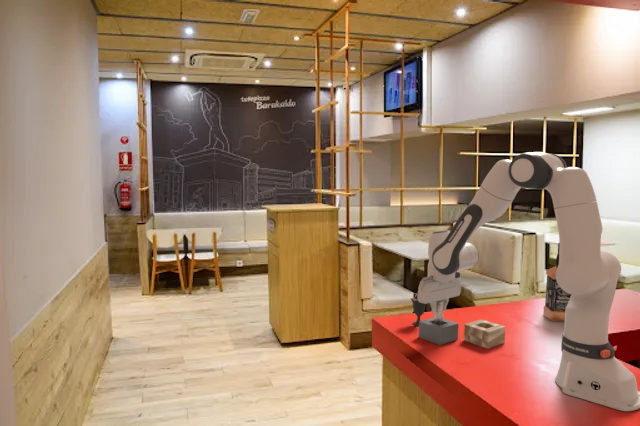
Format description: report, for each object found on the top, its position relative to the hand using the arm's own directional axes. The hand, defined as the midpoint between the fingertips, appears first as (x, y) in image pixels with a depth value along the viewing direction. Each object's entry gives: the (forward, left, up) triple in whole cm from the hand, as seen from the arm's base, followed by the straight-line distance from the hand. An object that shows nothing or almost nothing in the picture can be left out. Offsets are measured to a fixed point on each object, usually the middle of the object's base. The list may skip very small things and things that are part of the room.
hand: (438, 311), depth 176 cm
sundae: (+15, -6, -10) cm, 19 cm away
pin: (0, 0, -8) cm, 8 cm away
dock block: (0, 0, -10) cm, 10 cm away
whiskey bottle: (-14, -60, -10) cm, 62 cm away
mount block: (-12, -11, -10) cm, 19 cm away
